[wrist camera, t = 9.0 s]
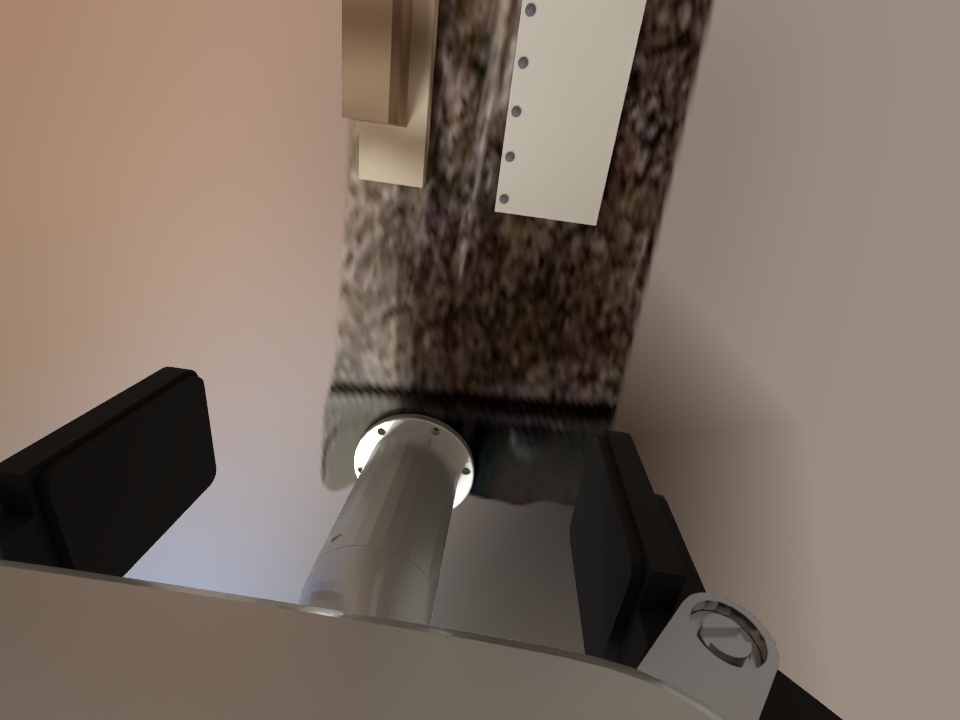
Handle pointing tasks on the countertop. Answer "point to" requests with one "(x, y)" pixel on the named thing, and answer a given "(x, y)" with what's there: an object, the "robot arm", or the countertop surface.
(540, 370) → the countertop surface
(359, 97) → the stub
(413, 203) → the countertop surface
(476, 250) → the countertop surface
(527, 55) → the board
